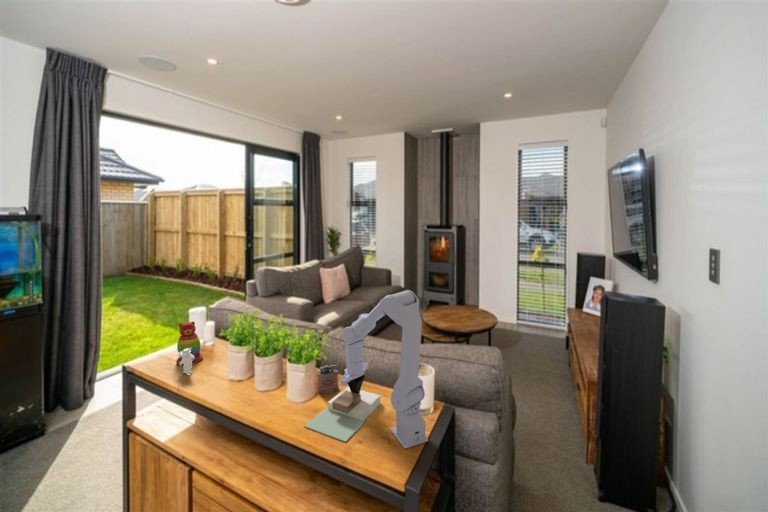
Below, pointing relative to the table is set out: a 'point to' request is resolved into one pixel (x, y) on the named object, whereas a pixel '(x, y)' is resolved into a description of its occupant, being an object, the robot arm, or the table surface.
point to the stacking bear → (189, 341)
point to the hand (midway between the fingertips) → (355, 396)
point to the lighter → (327, 379)
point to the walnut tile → (346, 401)
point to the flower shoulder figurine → (186, 360)
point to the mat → (335, 425)
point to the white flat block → (363, 408)
